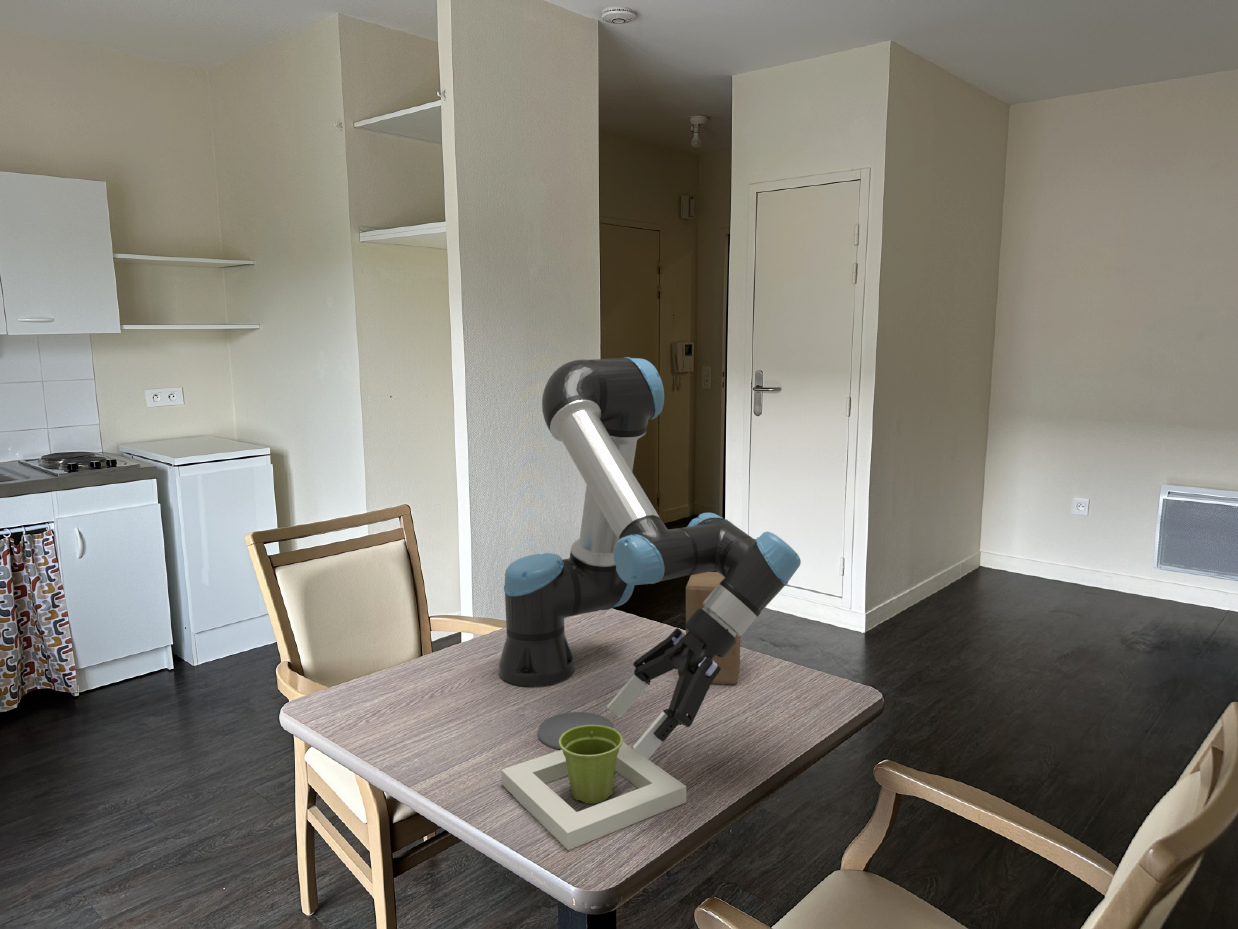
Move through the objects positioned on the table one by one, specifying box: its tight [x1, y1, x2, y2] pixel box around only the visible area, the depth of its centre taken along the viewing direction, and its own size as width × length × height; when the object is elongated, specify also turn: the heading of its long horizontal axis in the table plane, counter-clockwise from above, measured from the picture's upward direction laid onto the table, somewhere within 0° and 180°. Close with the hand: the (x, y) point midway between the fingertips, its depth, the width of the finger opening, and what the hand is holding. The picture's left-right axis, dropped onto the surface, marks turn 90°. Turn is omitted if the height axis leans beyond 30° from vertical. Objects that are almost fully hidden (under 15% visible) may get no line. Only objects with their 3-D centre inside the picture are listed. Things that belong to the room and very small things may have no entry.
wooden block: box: [685, 571, 741, 685], centre depth 167 cm, size 10×10×20 cm
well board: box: [500, 741, 687, 851], centre depth 126 cm, size 20×20×2 cm
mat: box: [537, 711, 615, 751], centre depth 145 cm, size 13×13×1 cm
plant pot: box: [559, 725, 624, 805], centre depth 125 cm, size 9×9×9 cm
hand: (625, 732), depth 125 cm, fingers open, 13 cm apart
